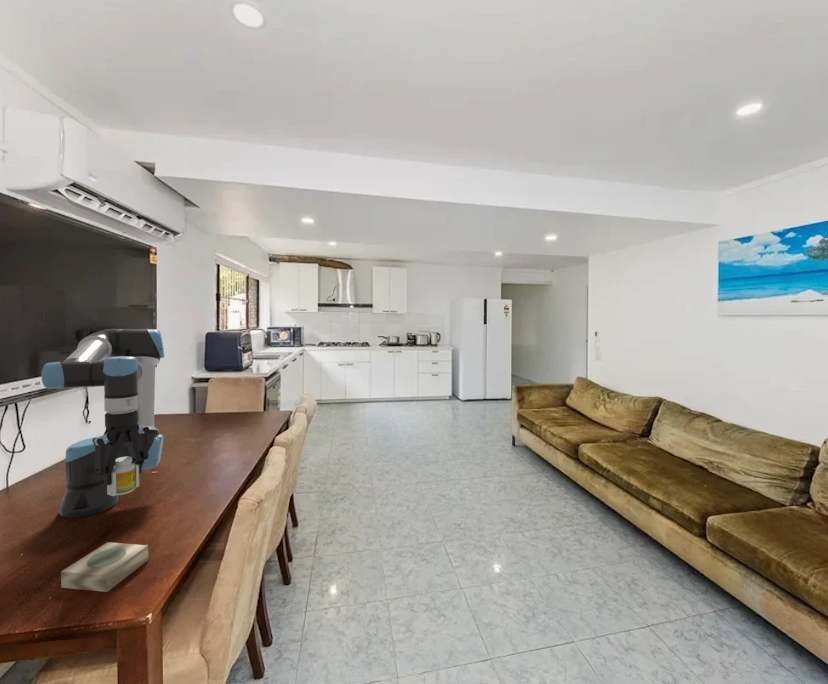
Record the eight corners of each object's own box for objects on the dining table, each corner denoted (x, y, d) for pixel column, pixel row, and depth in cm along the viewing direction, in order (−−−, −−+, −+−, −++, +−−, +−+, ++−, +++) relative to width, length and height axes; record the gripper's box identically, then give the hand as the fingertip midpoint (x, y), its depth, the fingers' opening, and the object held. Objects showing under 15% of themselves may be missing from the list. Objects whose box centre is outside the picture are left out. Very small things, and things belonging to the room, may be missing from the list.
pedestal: (61, 587, 88) (60, 570, 88) (107, 556, 100) (107, 541, 100) (106, 591, 87) (106, 574, 87) (148, 559, 99) (148, 544, 99)
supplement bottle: (110, 491, 106) (109, 458, 105) (133, 485, 110) (132, 454, 109) (113, 497, 102) (112, 463, 102) (137, 491, 106) (136, 458, 105)
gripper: (92, 420, 95) (94, 507, 96) (162, 405, 112) (164, 479, 113) (74, 416, 97) (77, 502, 99) (146, 403, 114) (147, 475, 116)
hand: (123, 490), depth 106 cm, fingers closed on supplement bottle, 5 cm apart
